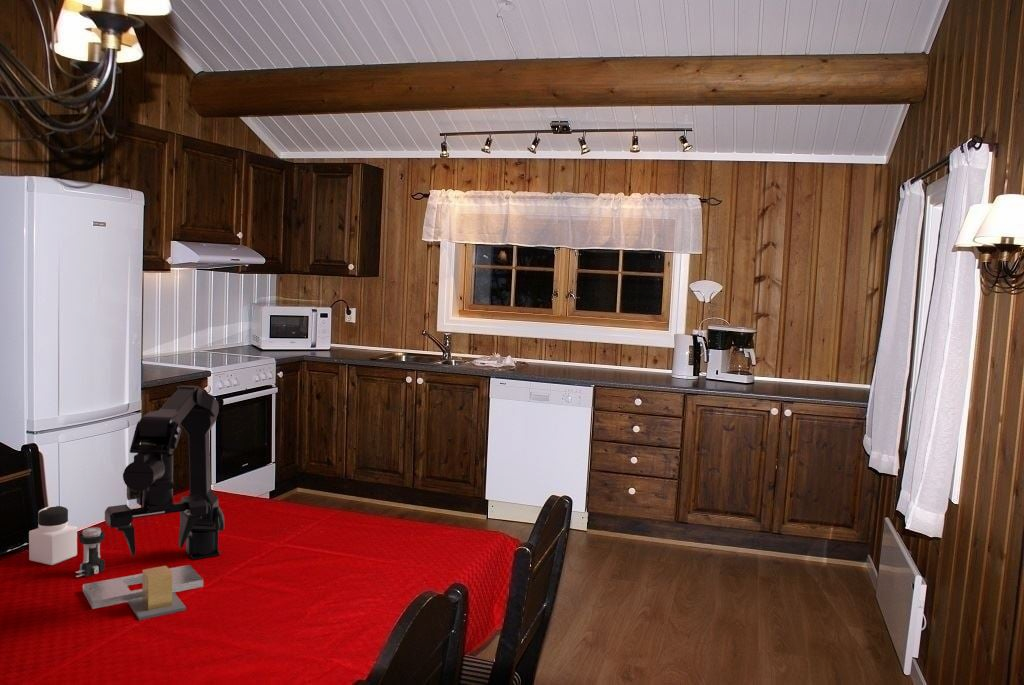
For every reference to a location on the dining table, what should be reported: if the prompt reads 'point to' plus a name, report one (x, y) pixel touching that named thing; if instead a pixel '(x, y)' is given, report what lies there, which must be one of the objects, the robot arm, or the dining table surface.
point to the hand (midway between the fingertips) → (157, 551)
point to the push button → (91, 551)
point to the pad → (145, 614)
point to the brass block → (157, 588)
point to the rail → (120, 593)
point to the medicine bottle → (52, 537)
